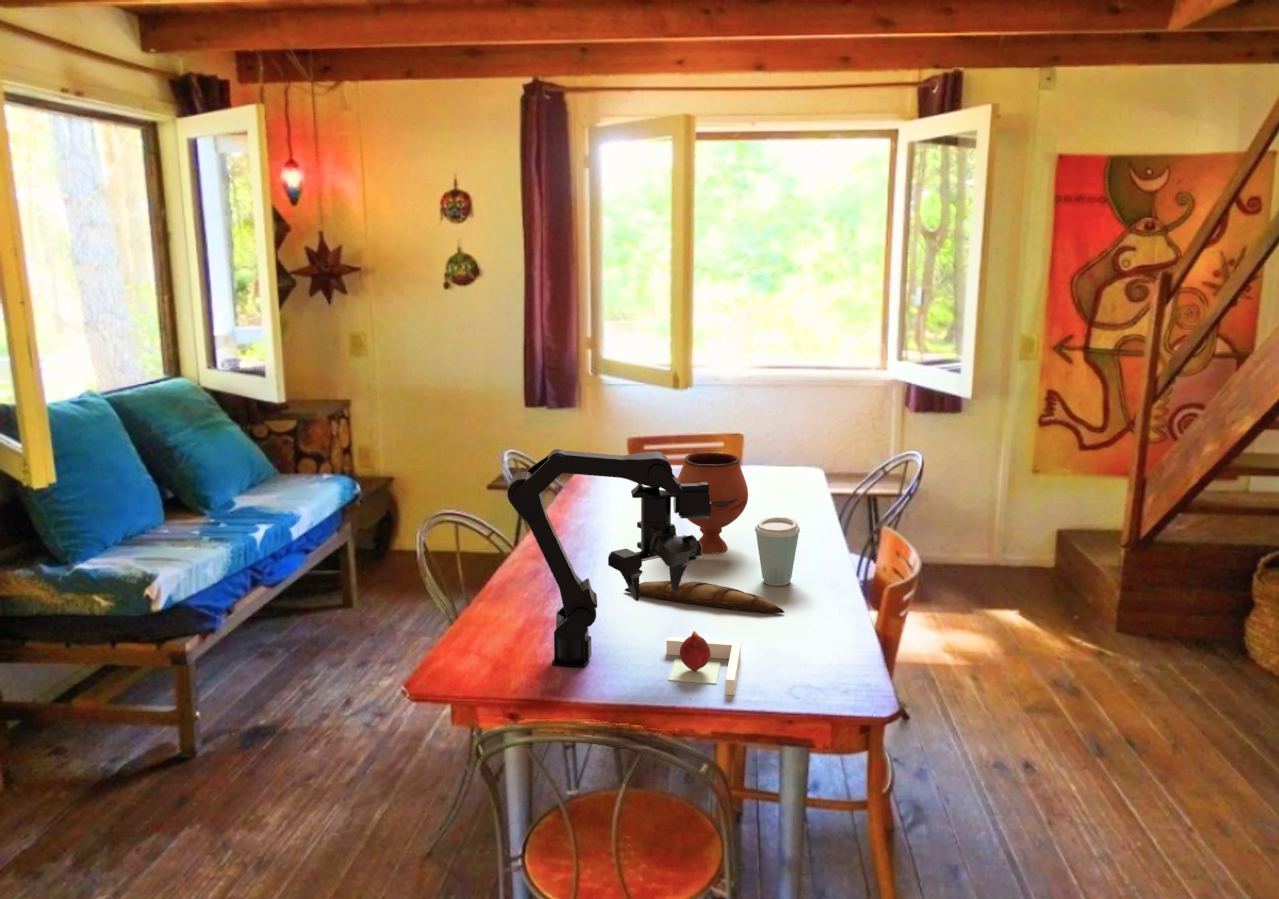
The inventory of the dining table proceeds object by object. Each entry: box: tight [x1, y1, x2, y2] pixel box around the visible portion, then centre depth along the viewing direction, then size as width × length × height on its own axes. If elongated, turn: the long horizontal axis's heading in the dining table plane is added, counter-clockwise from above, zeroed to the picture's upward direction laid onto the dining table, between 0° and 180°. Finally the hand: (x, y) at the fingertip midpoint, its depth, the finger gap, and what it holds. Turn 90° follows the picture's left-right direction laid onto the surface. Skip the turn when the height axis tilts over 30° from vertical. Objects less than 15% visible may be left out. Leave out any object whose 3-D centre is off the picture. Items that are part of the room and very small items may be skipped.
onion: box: [679, 630, 711, 671], centre depth 181 cm, size 6×6×8 cm
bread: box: [624, 580, 785, 614], centre depth 215 cm, size 38×5×5 cm, turn 69°
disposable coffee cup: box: [754, 516, 801, 587], centre depth 228 cm, size 11×11×15 cm
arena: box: [665, 636, 742, 696], centre depth 181 cm, size 15×17×3 cm
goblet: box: [677, 452, 749, 554], centre depth 251 cm, size 19×19×25 cm
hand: (655, 595), depth 185 cm, fingers open, 9 cm apart
